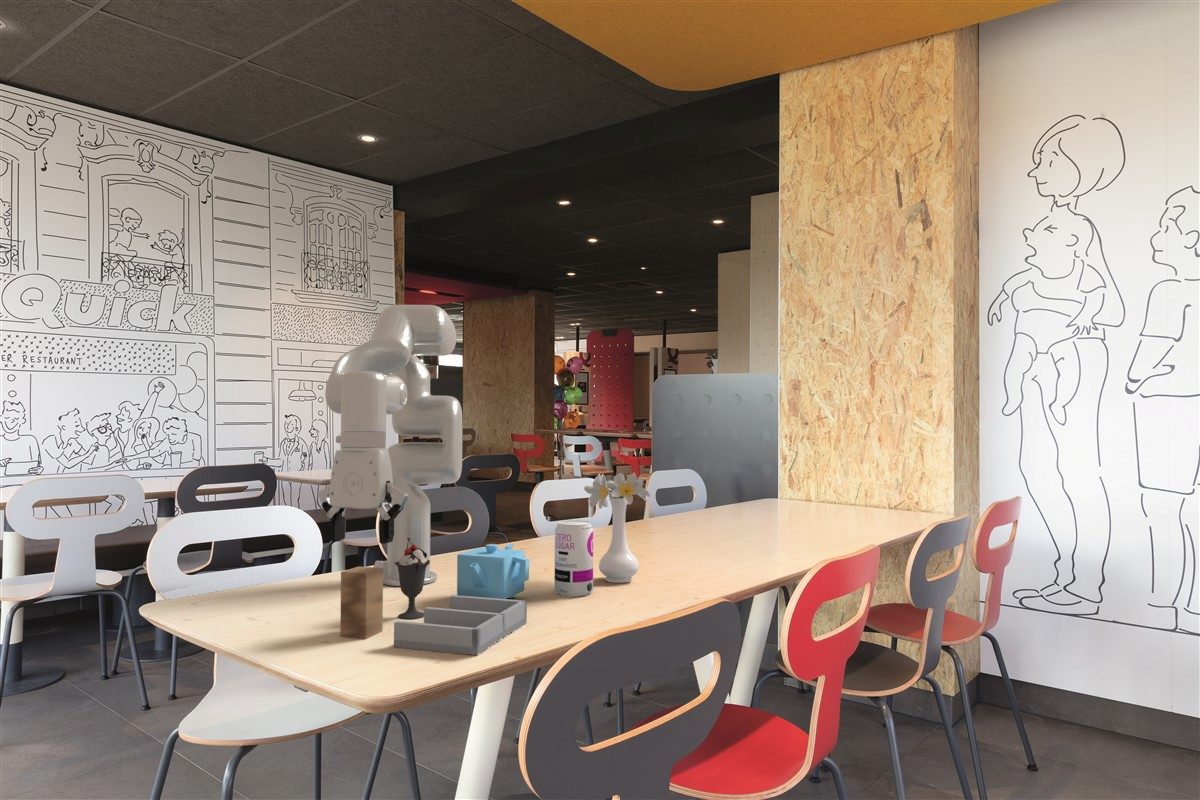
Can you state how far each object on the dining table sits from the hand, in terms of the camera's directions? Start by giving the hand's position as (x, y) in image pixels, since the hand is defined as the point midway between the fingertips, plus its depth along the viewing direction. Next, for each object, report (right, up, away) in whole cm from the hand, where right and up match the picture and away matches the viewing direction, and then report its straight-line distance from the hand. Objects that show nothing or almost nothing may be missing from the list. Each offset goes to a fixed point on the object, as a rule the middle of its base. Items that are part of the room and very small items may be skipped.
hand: (361, 541), depth 131 cm
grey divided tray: (+18, -16, 0) cm, 24 cm away
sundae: (+6, -17, +12) cm, 21 cm away
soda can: (+36, -17, +31) cm, 50 cm away
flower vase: (+45, -17, +44) cm, 65 cm away
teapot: (+19, -17, +26) cm, 36 cm away
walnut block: (0, -16, 0) cm, 16 cm away
